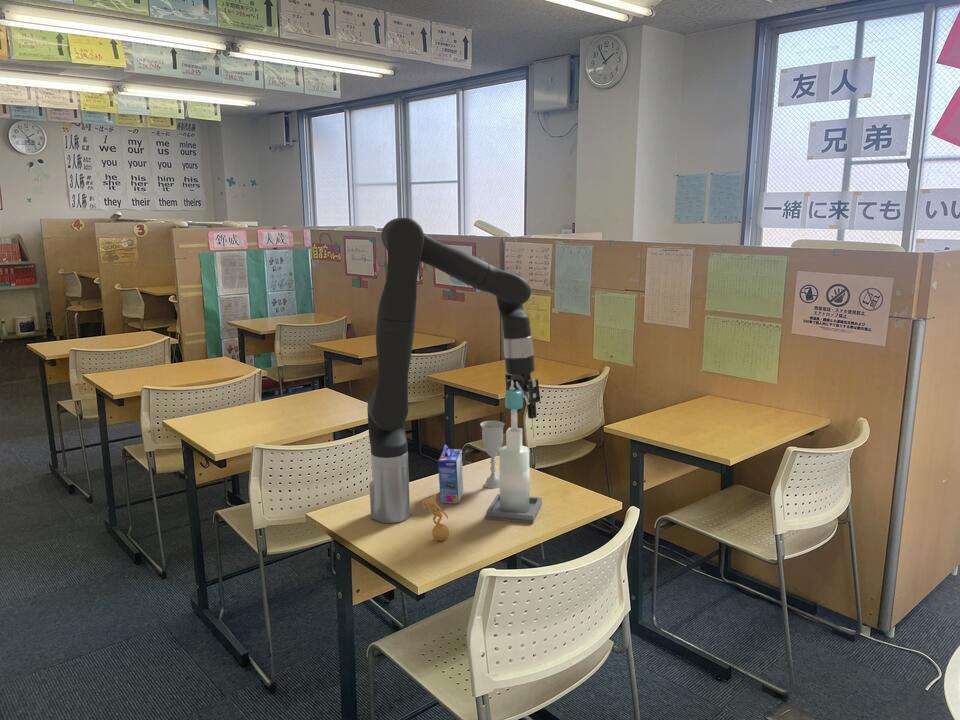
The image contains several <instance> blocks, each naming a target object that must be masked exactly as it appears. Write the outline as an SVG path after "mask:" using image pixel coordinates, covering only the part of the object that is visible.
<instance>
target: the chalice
mask: <svg viewBox="0 0 960 720" xmlns="http://www.w3.org/2000/svg"><path fill="white" fill-rule="evenodd" d="M479 424H480V427H481V432H482V433H481V434H482V435H481V436H482V438H481V439H482V440H481V441H482V443H483V447H484V449H485V451H486V454H487V455H488V456H490V461H489V464H490V465H491V466H490V468H489V469H490V471H491V474H490V475H489V476H488V477H487V478H486V480H485V483H484V487H485V486H486V488H489V489H499V488H500V476H498V475H496V473H495V471H496V470H497V468H496V467H495V466H496V461H495V458H496V456H498V454H499V449H500V448H501V447H503V446H502V445H503V442H504V427H505V424H506V423H505V422H502V421H499V420H486V421H485V420H484V421H482V422H480V423H479Z"/></svg>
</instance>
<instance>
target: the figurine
mask: <svg viewBox="0 0 960 720" xmlns="http://www.w3.org/2000/svg"><path fill="white" fill-rule="evenodd" d="M436 499H437V495H436V494H435V493H433V494H432V495H431V496H430V497H428V498H426V499H423V500H421V503H422V508H423V509H429V512H430V514H432V515H433V517H432V520H433V523H434V524H435V525H434V526H433V528H432V531H431V533H432V537H433V538H434V539H435V540H436V541H438V542H439V541H440V542H441V541H446V540H447V538H448V537H449V535H450V529H449V527H448V526H447V525H446V524H445V523H440V522H441V520H442V518H443V515H444V516H445V517H446V519H449V516H448V514H447V513H446V512H445V511H444V510H443V508H441V507H440V505H439V504H437V501H436ZM437 509H438V510H437ZM437 517H438V519H437ZM436 519H437V521H436Z"/></svg>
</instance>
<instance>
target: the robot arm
mask: <svg viewBox="0 0 960 720" xmlns="http://www.w3.org/2000/svg"><path fill="white" fill-rule="evenodd" d="M380 236H381V238H380V239H381V242H382V245H383V247H384V248H385V249H386V251H387V263H386V264H387V271H386V278H385V283H384V287H383V290H382V292H381V296H380V299H379V303H378V304H379V305H378V309H377V314H376V325H375V326H376V327H375V348H376V358H377V359H376V360H377V369H378V370H377V371H378V372H377V383H376V389H375V390H374V392H372V393H371V394H370V396H369V398H368V399H367V400H368V402H367V407H366V408H367V425H368V440H369V444H370V456H371V458H370V459H371V460H370V461H371V479H372V481H370V482H369V487H368V488H369V505H370V519H371V520H375V521H377V522H379V523H384V524H395V523H401V522H404V521H406V520H407V519H408V518H410V516H411V504H410V501H411V500H410V475H409V473H410V471H409V451H408V447H409V446H408V445H409V444H408V439H407V433H406V429H405V428H406V426H405V424H406V423H405V422H406V420H407V418H408V415H409V371H410V366H411V365H410V363H411V358H412V351H413V345H414V337H415V327H416V315H417V313H416V311H417V297H418V296H417V293H418V291H417V289H418V288H417V287H418V276H419V269H420V264H421V263H424V264H425V265H428V266H431V267H433V268H435V269H437V270H439V271H441V272H442V273H445V274H447V275H448V276H450V277H451V278H453V279H456V280H458V281H459V282H462V283H464V284H466V285H468V286H470V287H472V288H474V289H477V290H479V291H482V292H485V293H489V294H492V295H493V296H495V297H496V303H497V307H498V311H499V314H500V318H501V320H502V331H503V353H504V363H505V364H504V365H505V375H504V376H505V377H504V379H505V389H506V390H512V389H516V390H522V391H523V399H524V400H525V403H526V410H527V418H528V419H530V420H531V419H535V418H537V416H538V415H537V406H536V404H537V403H539V402H541V394H540V386H539V385H540V384H539V379H538V378H532V373H533V372H535V371H536V370H535V369H536V367H535V355H534V346H533V340H532V332H531V322H530V317H529V316H528V315H527V314H526V312H525V309H524V306H523V305H524V304H526V303H527V302H528V301H529V300H530V298H531V295H532V294H531V293H532V289H531V285H530V284H529V283H528V281H527V280H525V279H524V278H523V277H521V276H519V275H516V274H515V273H512V272H509V271H506V270H503V269H500V268H497V267H496V266H494V265H492V264H490V263H488V262H486V261H484V260H483V259H481V258H479V257H476V256H474V255H472V254H470V253H467V252H465V251H462V250H459V249H458V248H454V247H452V246H449V245H447V244H444V243H442V242H440V241H438V240H436V239H434V238H432V237H430V236H429V235H427V234H426V233H425V232H424V231H423V228H422V226H421V225H420V224H419V222H417V221H416V219H413V218H410V217H396V218H393V219H391V220H390V221H388V222H387V223H386V224H385V225H384V226H383V228H382V230H381V235H380ZM420 262H421V263H420ZM506 390H505V391H506ZM521 411H522V408H521V409H517V413H521Z"/></svg>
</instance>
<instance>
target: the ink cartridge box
mask: <svg viewBox="0 0 960 720" xmlns="http://www.w3.org/2000/svg"><path fill="white" fill-rule="evenodd" d="M442 449H443V450H442V452H441V454H440V456H439V458H438V461H437V465H438V468H437V469H438V483H439V485H438V486H439V496H440V499H439V500H440V503H441V504H460V502H461V500H462V499H461V498H462V495H463V493H464V474H463V455H462V453H463V452H462V451H463V450H462V449H461V448H449V446H448V445H447V444H444V446H443V448H442Z"/></svg>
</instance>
